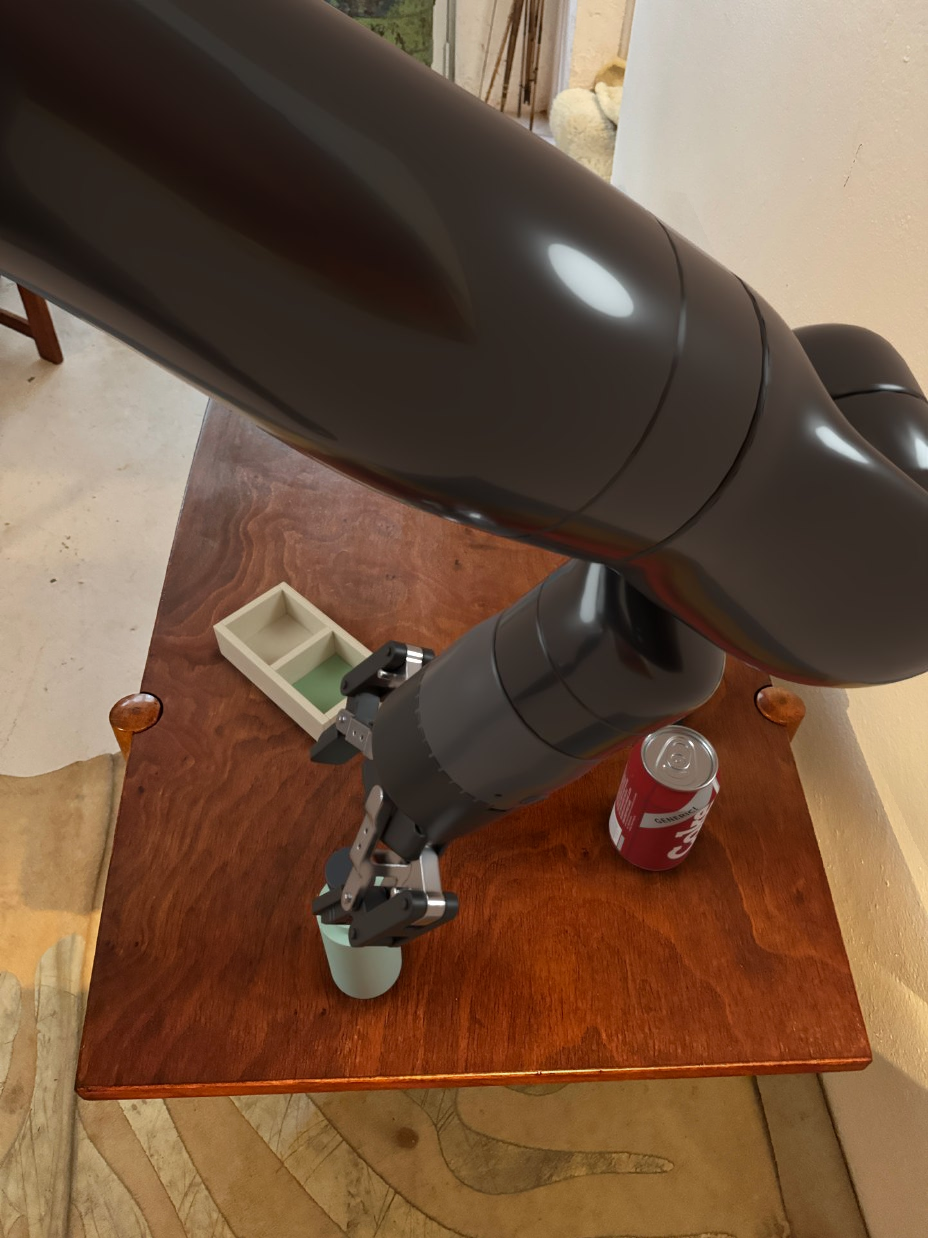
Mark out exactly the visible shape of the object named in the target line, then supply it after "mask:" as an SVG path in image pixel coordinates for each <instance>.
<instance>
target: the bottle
mask: <svg viewBox="0 0 928 1238" xmlns="http://www.w3.org/2000/svg"><path fill="white" fill-rule="evenodd" d="M352 846H353V845H352ZM352 846H345V847H342V848H339V849H338V850H336V851H335V852H333V853H332V854H331V856H330V857H329V858H328V859H327V862H326V864H325V868H324V876H325V881H326V884H325V885H324V886H323V887H322V889H321V891H320V892H319V895H318V897H319V896H321V895H323V894H324V893H326V892H328V891H330V890H332V889H334V888H336V887H337V886H339V885H345V884H346V882H347V879H348V877H349V875H350V872H351V870H352V868H353V863H352V861H351V859H350V857H349V853H350V850H351V848H352ZM383 878H384V877H374V878H373V879H371V881H370V883H369V885H372V886H380V885H381V882H382V880H383ZM316 920H317V924H318V927H319V931H320V935H321V940H322V942H323V946H324V951H325V955H326V957H327V961H328V965H329V968H330V973H331V976H332V979H333V981H334V983H335V985H336V986H337V987H338V988H339V990H341V992H343V993H345V994H346V995H347V996H349V997H352V998H355V999H360V1000H367V999H373V998H376V997H379V996H380V995H383V994H384V993H386V992H388V990H389V989H391V987H393V986H394V984H395V982H396V981H397V980H398V978H399V976H400V972H401V969H402V962H403V959H402V958H403V957H402V948H401V947H402V946H401V947H398V948H389V947H379V946H365V947H363V948H354V947H351V945H350V944H349V940H348V931H349V927H350V925H325V924H323V923H321V916H320V915H316Z"/></svg>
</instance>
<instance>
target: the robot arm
mask: <svg viewBox="0 0 928 1238" xmlns="http://www.w3.org/2000/svg"><path fill="white" fill-rule="evenodd" d="M0 276H2V277H4V278H5V279H7V280H9V281H11V282H13V283H15V284H17V285H19V286H21V287H22V288H24V289H26V290H28V291H29V292H32V293H33V294H35V295H37V296H38V297H40V298H42V299H44V300H46V301H47V302H49V303H51V304H53V305H54V306H56V307H58V308H60V310H63V311H64V312H67V313H68V314H70V315H72V316H73V317H75V318H77V319H78V320H81V321H82V322H84V323H86V324H87V325H89V326H91V327H92V328H94V329H96V330H98V331H99V332H102V333H103V334H105V335H107V336H108V337H109V338H111V339H112V340H114V341H116V342H118V343H119V344H120V345H123V347H126V348H127V349H129V350H131V351H132V352H134V353H136V354H137V355H139V356H140V357H142V358H144V359H146V360H147V361H149V362H150V363H152V364H154V365H155V366H156V367H159V368H160V369H162V370H163V371H165V372H167V373H169V374H170V375H171V376H173V377H175V378H176V379H178V380H180V381H181V382H183V383H185V384H186V385H188V386H190V387H191V388H193V389H194V390H196V391H198V392H200V394H203V395H205V396H206V397H208V398H209V399H211V400H213V401H214V402H216V403H217V404H219V405H221V406H223V407H224V408H225V409H228V410H229V411H231V412H233V413H234V414H235V415H237V416H239V417H240V418H242V419H244V420H245V421H247V422H249V423H250V424H251V425H252V426H255V427H256V428H258V429H259V430H261V431H262V432H264V433H265V434H268V435H269V436H271V437H272V438H274V439H276V440H277V441H279V442H281V443H282V444H285V446H288V447H289V448H291V449H292V450H293V451H294V450H295V451H296V452H298V453H299V454H301V455H303V456H305V457H306V458H309V459H310V460H312V461H314V462H316V463H317V464H320V465H321V466H323V467H325V468H327V469H328V470H330V471H332V472H334V473H335V474H337V475H340V476H341V477H343V478H346V479H348V480H350V481H352V482H354V483H356V484H358V485H359V486H361V487H364V488H366V489H368V490H370V491H372V492H374V493H377V494H379V495H381V496H383V497H386V498H388V499H390V500H392V501H395V502H397V503H400V504H402V505H404V506H406V507H408V508H412V509H414V510H417V511H419V512H422V513H426V514H428V515H431V516H434V517H437V518H440V519H442V520H445V521H448V522H450V523H454V524H457V525H459V526H463V527H466V528H469V529H472V530H476V531H479V532H482V533H486V534H489V535H491V536H495V537H498V538H501V539H504V540H505V539H506V540H509V541H512V542H516V543H519V544H522V545H525V546H530V547H533V548H536V549H539V550H543V551H546V552H550V553H553V554H558V555H561V556H564V557H566V558H569V559H567V560H565V562H563V563H562V564H561V565H559V566H558V567H557V568H556V569H554V570H553V571H551V573H548V575H546V576H545V577H544V578H543V579H541V580H540V581H538V582H537V583H536V584H535V585H533V586H532V587H531V588H530V589H528V590H527V591H526V592H525V593H524V594H522V595H521V596H520V597H519V598H517V599H516V600H515V601H513V603H511V604H510V605H509V606H507V607H505V608H504V609H502V610H501V611H499V612H497V613H495V614H493V615H491V616H488V617H487V618H485V619H483V620H482V621H480V622H478V623H477V624H475V625H474V626H473V627H471V628H470V629H468V630H467V631H466V632H464V634H462V635H460V637H458V638H456V640H454V642H452V643H451V644H449V645H448V646H447V647H446V648H444V649H443V650H442V651H441V652H439V653H438V654H437V655H436V653H435V651H434V650H433V649H432V648H428V647H423V646H419V645H415V644H410V643H406V642H402V641H397V640H394V639H393V640H392V639H390V640H388V641H387V642H385V643H384V644H383V645H382V646H380V647H379V648H377V649H376V650H375V651H374V652H372V653H373V654H371V655H370V656H369V657H367V658H366V659H365V660H364V661H362V662H361V663H360V664H358V665H357V666H356V667H355V668H353V669H352V670H351V671H349V672H348V673H347V674H346V675H344V677H343V678H342V681H341V685H340V692H341V694H342V695H343V696H347V702H346V708H345V709H343V708H342V709H340V710H339V712H338V714H337V717H336V722H334V723H333V724H332V725H331V726H330V727H328V728H327V730H325V731H324V732H322V733H321V735H320V737H319V738H318V742H317V741H316V742H315V743H314V744H313V745H311V746H310V747H309V760H310V762H312V763H316V764H317V763H318V764H325V765H331V766H342V765H345V764H346V763H348V762H349V761H350V760H352V759H353V758H355V757H356V756H357V755H358V754H360V753H361V752H362V755H363V756H364V762H362V763H361V780H362V785H363V791H364V798H363V820H362V822H361V825H360V827H359V829H358V832H357V834H356V837H355V839H354V841H353V843H352V848H351V850H350V853H349V857H350V859H351V861H352V863H353V868H352V870H351V872H350V875H349V877H348V879H347V882H346V884H345V885H339V886H337V887H336V888H334V889H332V890H330V891H328V892H326V893H324V894H323V895H321V896H319V895H318V896H317V897H315V898H313V899H312V900H311V915H312V916H317V915H320V916H321V923H323V924H325V925H350V927H349V931H348V940H349V944H350V945H351V947H354V948H363V947H365V946H379V947H389V948H398V947H402V946H404V945H406V944H409V943H410V942H412V941H414V940H417V939H418V938H420V937H422V936H425V935H426V934H428V933H430V932H431V931H434V930H435V929H437V928H440V927H441V926H444V925H445V924H447V923H449V922H451V921H453V920H455V918H457V916H458V914H459V909H460V901H459V897H458V895H457V894H456V893H455V892H454V891H446V890H445V891H444V890H443V889H442V882H441V874H440V866H439V865H440V864H439V860H440V859H441V858H442V857H443V856H444V855H445V854H446V851H447V850H448V848H449V847H450V846H451V844H452V843H453V842H454V841H455V840H457V839H461V838H463V837H466V836H468V835H469V836H470V835H471V834H474V833H477V832H479V831H480V830H483V829H484V828H486V827H488V826H490V825H492V824H494V823H496V822H498V821H500V820H502V819H504V818H506V817H508V816H509V815H512V814H514V813H516V812H518V811H520V810H523V808H526V807H527V806H531V805H535V804H537V803H540V802H543V801H545V800H547V799H548V798H549V797H550V796H551V794H553V793H555V792H557V791H559V790H561V789H563V788H566V786H568V785H570V784H572V783H573V782H575V781H577V780H579V779H581V778H582V777H584V775H586V774H587V773H589V772H590V771H591V770H593V768H595V767H596V766H598V765H599V764H600V763H601V762H603V761H604V760H606V759H608V758H609V757H611V756H612V755H614V754H616V753H618V752H620V751H622V750H624V749H626V748H628V747H630V746H631V745H633V744H636V743H638V742H639V741H640V740H641V739H643V738H645V737H647V736H649V735H651V734H653V733H655V732H657V731H659V730H662V729H663V728H665V727H667V726H669V725H671V724H673V723H675V722H677V721H679V720H680V719H682V718H684V719H685V718H686V717H687V716H689V715H692V714H693V713H694V712H695V711H697V710H698V709H700V708H701V707H703V706H704V705H706V703H707V702H708V701H709V700H710V699H711V698H712V697H713V696H714V695H715V693H716V692H717V690H718V689H719V686H720V684H721V682H722V678H723V675H724V673H725V667H726V655H729V656H730V657H732V658H734V659H735V660H737V661H739V662H740V663H742V664H744V665H746V666H748V667H750V668H752V669H754V670H756V671H758V672H761V673H764V674H765V675H769V676H772V677H774V678H777V679H780V680H783V681H787V682H790V683H794V684H798V685H803V686H809V687H815V688H829V689H838V690H839V689H841V690H847V689H848V690H850V689H851V690H853V689H866V688H874V687H880V686H887V685H891V684H896V683H900V682H904V681H906V680H910V679H913V678H916V677H918V676H920V675H923V674H926V673H928V399H927V396H926V394H925V392H924V391H923V390H922V388H921V386H920V384H919V382H918V380H917V378H916V377H915V375H914V373H913V371H912V369H911V368H910V367H909V365H908V363H907V362H906V360H905V359H904V357H903V356H902V355H901V354H900V353H899V351H898V350H897V349H896V348H895V347H894V346H893V345H892V344H891V342H890V341H889V340H887V339H886V338H885V337H883V336H882V335H880V334H879V333H877V332H875V331H873V330H871V329H869V328H866V327H863V326H859V325H855V324H848V323H842V322H841V323H840V322H823V323H816V324H809V325H803V326H798V327H795V328H791V327H790V326H789V325H788V323H787V322H786V321H785V320H784V318H783V317H782V316H781V315H780V314H779V313H778V311H777V310H776V309H775V308H774V307H773V306H772V305H771V304H770V303H769V302H768V301H767V300H766V299H765V298H764V297H763V296H762V295H761V294H760V293H759V292H758V291H757V290H756V289H755V288H753V286H751V285H750V284H749V283H748V282H746V281H745V280H744V279H742V278H741V277H740V276H738V275H737V274H736V273H734V272H733V271H731V270H730V269H729V268H728V267H726V266H725V265H724V264H723V263H721V262H720V261H718V260H717V259H716V258H714V257H713V256H712V255H710V254H709V253H708V252H706V250H703V249H702V248H701V247H699V246H698V245H696V244H695V243H694V242H692V240H689V239H688V238H687V237H686V236H684V235H683V234H681V233H680V232H679V231H677V230H676V229H675V228H673V227H672V226H670V225H669V224H668V223H666V222H665V221H664V220H662V219H661V218H659V217H658V216H657V215H656V214H654V213H652V212H651V211H649V210H648V209H646V208H645V206H643V205H641V204H640V203H638V202H637V200H634V199H633V198H632V197H630V196H629V195H627V194H626V193H624V192H623V191H622V190H621V189H619V188H617V187H616V186H615V185H613V184H612V183H610V182H609V181H607V180H606V179H604V178H603V177H602V176H600V175H598V173H595V172H594V171H592V170H591V169H590V168H588V167H586V166H585V165H584V164H582V163H581V162H579V161H577V160H576V159H574V157H571V156H570V155H568V153H566V152H564V151H562V150H561V149H559V148H558V147H557V146H555V145H554V144H551V143H550V142H549V141H547V140H546V139H544V138H542V137H541V136H540V135H538V134H536V133H535V132H533V130H530V129H529V128H527V127H525V126H524V125H522V124H521V123H519V122H518V121H516V120H514V119H512V117H510V116H508V115H507V114H505V113H504V112H502V111H501V110H499V109H497V108H496V107H494V106H492V105H491V104H489V103H488V102H486V101H484V100H482V99H481V98H480V97H478V96H476V95H474V94H473V93H471V92H470V91H468V90H467V89H466V88H463V87H461V86H460V85H458V84H457V83H456V82H453V81H452V80H450V79H449V78H447V76H444V75H442V73H441V74H440V73H439V72H437V71H436V70H434V68H433V69H432V68H431V67H429V66H428V65H426V64H425V63H423V62H421V61H420V60H418V59H417V58H414V56H412V55H411V54H409V53H407V52H406V51H404V50H403V49H401V48H399V47H398V46H396V45H394V44H393V43H391V42H390V41H388V40H387V39H385V38H384V37H382V36H380V35H379V34H377V33H375V32H374V31H373V30H371V29H370V28H368V27H366V26H365V25H363V24H361V23H360V22H358V21H357V20H355V19H354V18H352V17H351V16H349V15H347V14H346V13H345V12H343V11H341V10H340V9H338V8H336V7H335V6H333V5H331V4H330V3H328V2H327V1H326V0H0ZM379 702H381V703H382V702H383V703H382V704H381V706H380V708H379ZM378 709H379V710H378ZM380 842H381V843H382V844H384V845H385V846H386V847H387V848H388V849H383V848H377V847H378V845H379V843H380ZM374 877H384V878H383V880H382V882H381V885H380V886H372V885H369V883H370V881H371V879H373V878H374Z"/></svg>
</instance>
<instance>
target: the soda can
mask: <svg viewBox="0 0 928 1238" xmlns="http://www.w3.org/2000/svg"><path fill="white" fill-rule="evenodd" d="M721 782H722V774H721V769H720V765H719V758H718V755H717V751H716V749H715V748H714V746H713V745H712V743H711V742H710V741H709V739H707V738H706V737H705V736H704V735H703V734H702V733H699V732H698V731H696V730H694V729H692V728H690V727H687V726H683V725H681V726H678V725H669V726H667V727H665V728H663V729H662V730H659V731H657V732H655V733H653V734H651V735H649V736H647V737H645V738H643V739H641V740H639V741H637V742H636V743H635V744H634V746H633V747H632V749H631V750H630V753H629V756H628V759H627V761H626V765H625V768H624V772H623V775H622V777H621V781H620V784H619V788H618V790H617V795H616V797H615V800H614V804H613V807H612V810H611V814H610V816H609V820H608V834H609V837H610V840H611V843H612V845H613V846H614V848H615V850H616V851H617V853H618V854H619V856H621V857H622V858H623V859H624V860H626V861H627V862H628V863H630V864H631V865H634V866H636V867H637V868H641V869H643V870H646V871H647V870H648V871H654V872H657V871H659V872H660V871H666V870H669V869H672V868H675V867H676V866H678V865H679V864H681V863H682V862H684V860H685V859H686V858H687V856H689V854H690V852H691V849H692V847H693V845H694V843H695V841H696V839H697V837H698V834H699V833H700V831H701V828H702V826H703V824H704V822H705V820H706V818H707V817H708V814H709V812H710V810H711V808H712V805H713V803H714V802H715V799H716V797H717V795H718V793H719V791H720V788H721Z"/></svg>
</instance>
